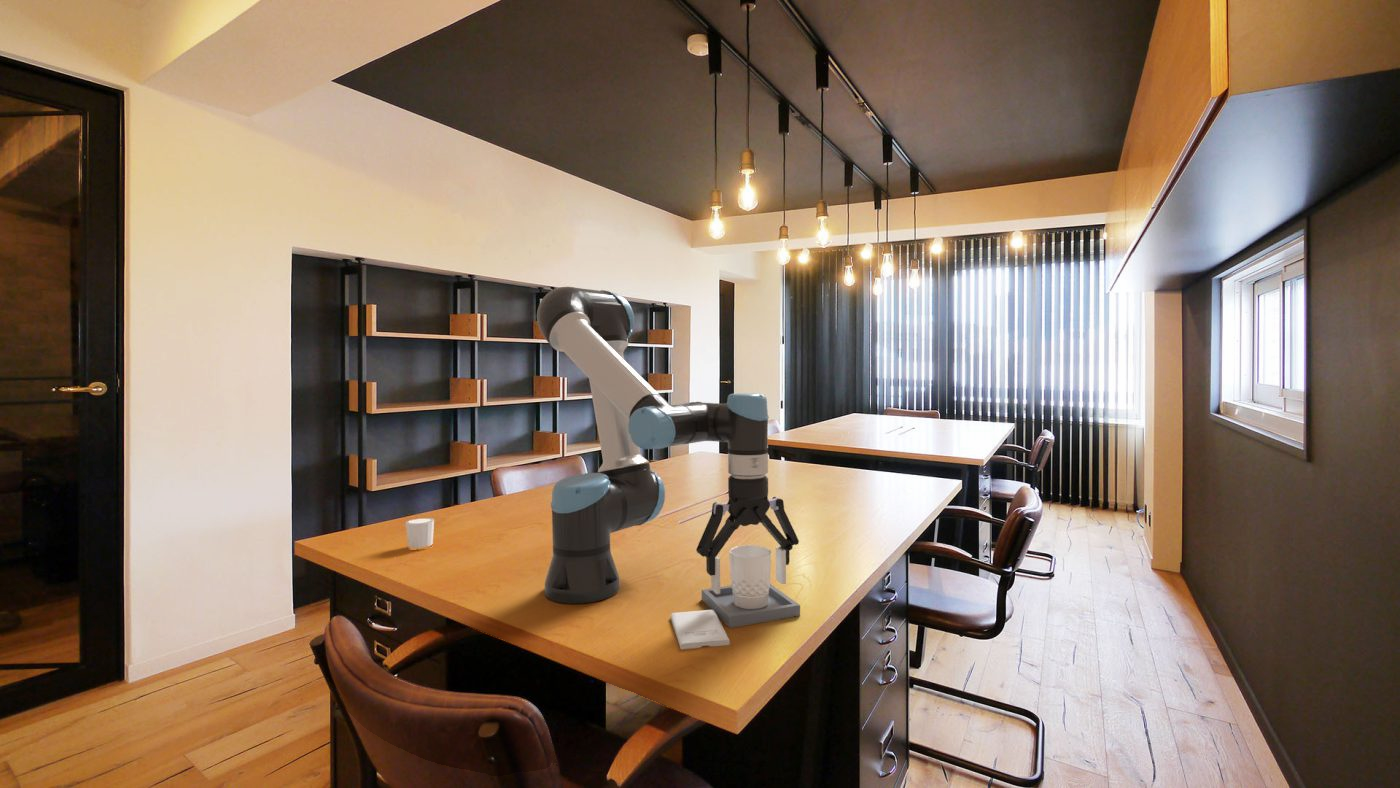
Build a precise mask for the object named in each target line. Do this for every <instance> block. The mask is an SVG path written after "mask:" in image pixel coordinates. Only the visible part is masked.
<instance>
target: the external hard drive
mask: <svg viewBox="0 0 1400 788" xmlns="http://www.w3.org/2000/svg"><path fill="white" fill-rule="evenodd" d="M720 620H721V619H720V618H719V617H718V616H717V615H716V613H715V611H714V610H711V609H705V610H704V609H703V610H694V611H693V610H690V611H680V612H679V611H678V612H672V613H670V621H671V624H672V628H673V630H674V633H675V635H676V639H677V641H678V645H679V649H680V650H689V649H700V648H704V647H709V648H710V647H723V646H730V645H731V643H730V638H729V637H728V634H727V632H726V630H725V629H724V627H723V624H722V622H721V621H720Z"/></svg>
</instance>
